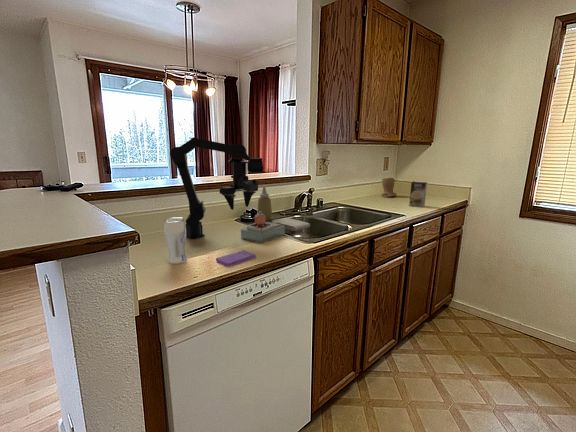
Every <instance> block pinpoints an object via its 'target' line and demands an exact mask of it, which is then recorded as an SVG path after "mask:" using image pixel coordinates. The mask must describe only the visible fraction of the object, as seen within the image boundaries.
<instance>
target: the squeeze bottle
mask: <svg viewBox="0 0 576 432" xmlns="http://www.w3.org/2000/svg"><path fill="white" fill-rule="evenodd" d="M261 191H262V192H261V193H259V198H258V200H257V213H256V215H257V214H258V213H259V211H261V213H263V214H264V215H265V222H270V221H271V218H272V214H273V209H272V202H271V201H272V200H271V199H272V198H270V197H269V196H270V195H269V194H270V193H267V189H266V186H263V187H262V190H261Z"/></svg>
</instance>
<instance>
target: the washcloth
mask: <svg viewBox="0 0 576 432" xmlns="http://www.w3.org/2000/svg"><path fill="white" fill-rule="evenodd" d="M271 223H277V224H281V225H282V226H285V230H289V231H292V232H293V231H294V232H296V231H297V232H298V231H300V230H302V229H304V230H305V229H307V228H310V227H311V224H310V223H309V222H306V221H302V220H299V219H293V218H289V217H284V218H281V219H274V220H272V221H271Z"/></svg>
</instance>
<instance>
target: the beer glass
mask: <svg viewBox="0 0 576 432" xmlns="http://www.w3.org/2000/svg"><path fill="white" fill-rule="evenodd" d="M185 221H186V219H185V218H184V217H169V218H166V219H164V224H163V225H164V227H163V228H164V229H163V230H164V237H165V242H166V244H167V248H168V263H169V264H171V265H181V264H183V263H184V264H185V263H186V262H187V261H188V258H187V255H186V241H187V237H186V222H185Z"/></svg>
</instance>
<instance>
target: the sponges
mask: <svg viewBox="0 0 576 432" xmlns="http://www.w3.org/2000/svg"><path fill="white" fill-rule="evenodd" d="M256 255H257V254H256V253H253V252H250V251H247V250H245V249H243V250H239V251H237V252H233V253H229V254H226V255H223V256H220V257H219V256H218V257H216V258H215V261H216V263H218V264H220V265H223V266H225V267H227V266H228V267H231V266H234V265H237V264H240V263H243V262H246V261H249V259H250V260H252V259H255V258H256V257H257V256H256Z"/></svg>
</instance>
